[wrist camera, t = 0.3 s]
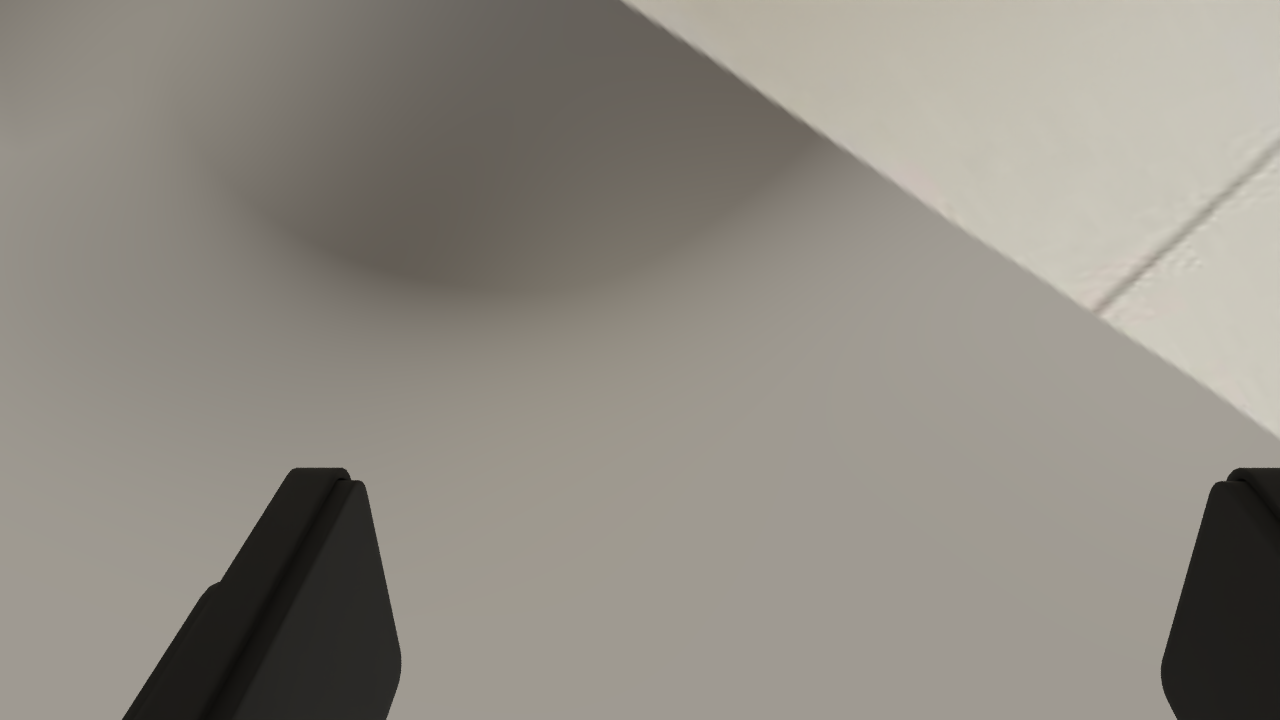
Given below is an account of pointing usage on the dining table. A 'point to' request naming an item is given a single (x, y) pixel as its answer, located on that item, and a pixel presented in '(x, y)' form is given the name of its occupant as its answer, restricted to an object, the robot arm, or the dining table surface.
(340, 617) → the robot arm
